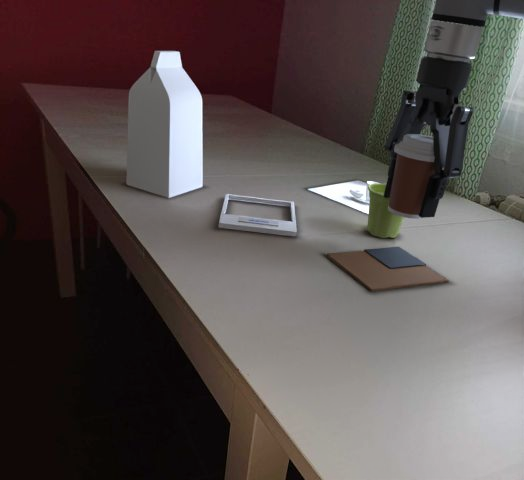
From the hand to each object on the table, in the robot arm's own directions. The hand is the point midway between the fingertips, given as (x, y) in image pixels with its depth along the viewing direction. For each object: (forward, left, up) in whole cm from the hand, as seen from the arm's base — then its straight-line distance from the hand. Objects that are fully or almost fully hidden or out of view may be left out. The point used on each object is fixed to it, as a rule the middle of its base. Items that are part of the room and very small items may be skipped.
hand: (407, 206), depth 92 cm
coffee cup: (0, 0, -1) cm, 1 cm away
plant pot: (+12, -6, -10) cm, 17 cm away
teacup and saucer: (+34, -17, -10) cm, 39 cm away
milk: (+45, +29, -10) cm, 54 cm away
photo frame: (+24, +16, -10) cm, 30 cm away
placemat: (-3, +4, -10) cm, 11 cm away
